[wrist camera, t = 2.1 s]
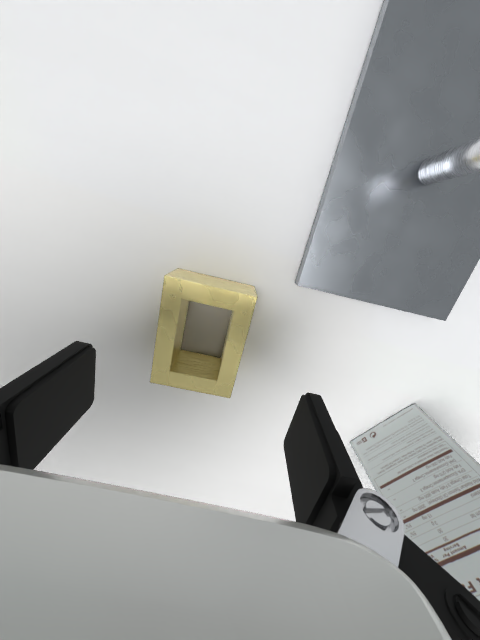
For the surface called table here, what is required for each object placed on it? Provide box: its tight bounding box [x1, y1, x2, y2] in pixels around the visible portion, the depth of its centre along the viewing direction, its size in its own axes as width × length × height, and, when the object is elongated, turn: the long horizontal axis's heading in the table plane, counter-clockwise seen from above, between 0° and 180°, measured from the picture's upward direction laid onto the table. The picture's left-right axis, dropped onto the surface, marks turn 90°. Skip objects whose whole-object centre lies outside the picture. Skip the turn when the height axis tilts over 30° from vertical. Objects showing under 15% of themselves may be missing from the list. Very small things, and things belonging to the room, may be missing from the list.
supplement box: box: [350, 404, 480, 601], centre depth 18 cm, size 7×7×13 cm
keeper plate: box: [295, 0, 480, 321], centre depth 13 cm, size 18×12×7 cm, turn 167°
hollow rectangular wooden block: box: [150, 268, 257, 398], centre depth 18 cm, size 8×6×4 cm
